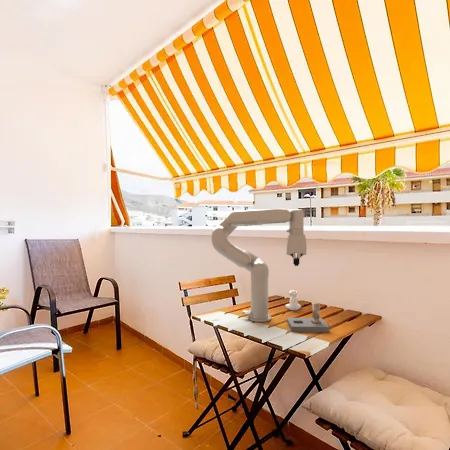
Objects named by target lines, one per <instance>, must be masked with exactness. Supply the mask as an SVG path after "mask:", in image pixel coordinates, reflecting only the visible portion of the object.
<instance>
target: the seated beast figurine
mask: <svg viewBox="0 0 450 450" xmlns="http://www.w3.org/2000/svg"><path fill="white" fill-rule="evenodd" d="M298 293H299V292H298V291H297V290H295V289H291V290H290V291H288V292H287V294H288V295H289V297H290V298H289V303H286V304H285V309H287V310H290V311H293V312H294V311H295V312H297V311H298V310H300V309H301V308H302V305H301V304H299V301H298V298H297V295H298Z"/></svg>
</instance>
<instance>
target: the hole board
mask: <svg viewBox="0 0 450 450" xmlns="http://www.w3.org/2000/svg"><path fill="white" fill-rule="evenodd" d="M286 323H287V325H288V327H289V329H290V331H291V332H292V333H299V332H300V333H330V326H329V325H328V323H327V322H326V321H325V320H324V319H323V318H322V317H320V318H319V324H313V317H287V318H286Z"/></svg>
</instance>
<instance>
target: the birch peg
mask: <svg viewBox="0 0 450 450" xmlns="http://www.w3.org/2000/svg"><path fill="white" fill-rule="evenodd" d="M311 318H313V324H319V318H321V304H320V302H312V317H311Z"/></svg>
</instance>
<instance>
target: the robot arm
mask: <svg viewBox="0 0 450 450" xmlns="http://www.w3.org/2000/svg"><path fill="white" fill-rule="evenodd" d="M304 214H305V213H304V210H303V209H302V208H300V209H299V208H297V209H295V208H293V209H287V208H273V209H272V208H271V209H244V210H232V211H230V212H229V213H228V214H227V216H225V218H224V219H223V220H222V221H221V222H220V223H219V224H218V225H217V226H216V227H214V228H213V230H212V232H211V245H212V246H213V248H214V250H215V251H216V252H217V253H218V254H220V255H221V256H222V257H224V258H226V259H227V260H229V262H232V263H233V264H235V265H236V266H237V267H239V268H243V269H245V270H246V271H247V272H250V309H249V310H242V315H244V316H247V319H248V320H250V321H251V322H255V323H265V322H269V321H271V320H272V316H271V315H270V314H269V278H270V277H269V276H270V275H269V274H270V273H269V272H270V270H269V266H268V265H267V263H266V262H265V261H264V260H263V259H262V258H259V257H258V256H257V255H255V254H254V253H251V252H250V251H249V250H247V249H245V248H240V247H238V246H236V245H235V244H234V243H233V242H231V241H230V240H228V237H229V236H230V235H231V234H232V233H233V232H234V231H235V230H236V229H237V228H238V227H247V226H261V225H270V224H271V225H272V224H285V223H289V224H288V227H289V228H288V229H286V233H288V234H287V239H286V253H285V254H286V255H287V256H290V257H292V258H293V259H292V260H293V265H294V267H299V265H300V259H301V258H302V257H303V256H306V255H307V250H308V249H307V239H306V238H307V237H306V234H304V233H305V232H304V219H305V217H304ZM296 254H297V255H296Z"/></svg>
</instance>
